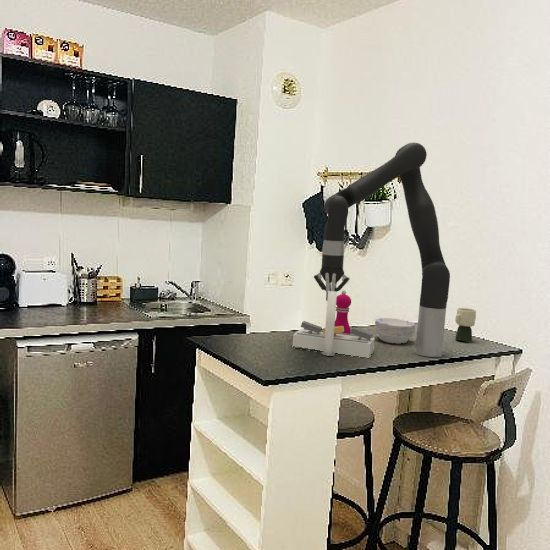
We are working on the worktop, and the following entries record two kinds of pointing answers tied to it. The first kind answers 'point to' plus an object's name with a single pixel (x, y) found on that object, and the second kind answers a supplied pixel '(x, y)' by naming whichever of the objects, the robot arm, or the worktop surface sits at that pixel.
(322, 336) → the breaker panel
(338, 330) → the block
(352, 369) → the worktop surface
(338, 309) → the pepper mill
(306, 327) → the paddle
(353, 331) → the paddle
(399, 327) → the paper bowls
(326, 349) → the post
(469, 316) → the character mug
